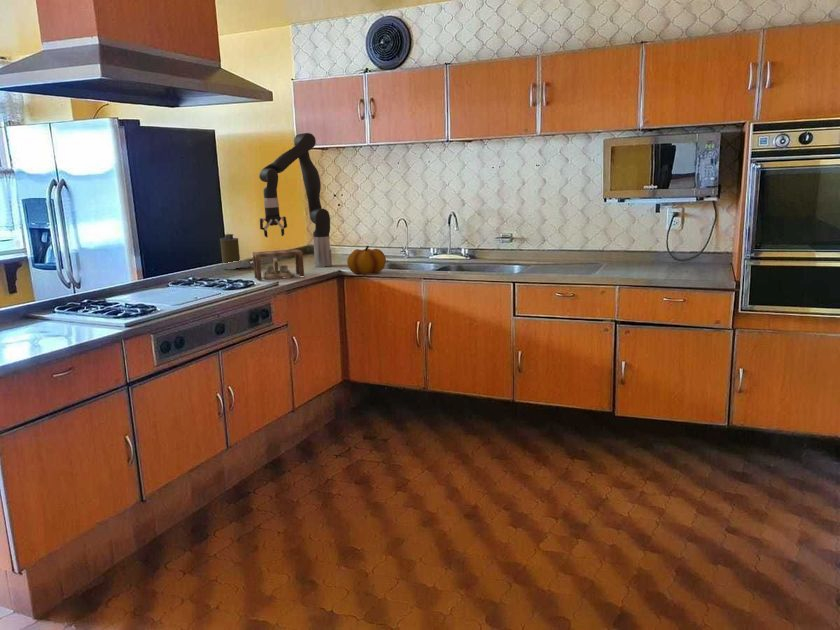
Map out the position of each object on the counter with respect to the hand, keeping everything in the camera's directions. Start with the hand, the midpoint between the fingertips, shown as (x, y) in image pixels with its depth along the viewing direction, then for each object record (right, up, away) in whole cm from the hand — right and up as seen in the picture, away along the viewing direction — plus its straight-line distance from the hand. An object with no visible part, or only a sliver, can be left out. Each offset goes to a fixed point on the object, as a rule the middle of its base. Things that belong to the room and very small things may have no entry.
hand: (274, 236), depth 359 cm
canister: (-31, -16, +27) cm, 44 cm away
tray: (+2, -21, -4) cm, 22 cm away
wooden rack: (+5, -23, -11) cm, 26 cm away
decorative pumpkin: (+51, -20, -5) cm, 55 cm away
